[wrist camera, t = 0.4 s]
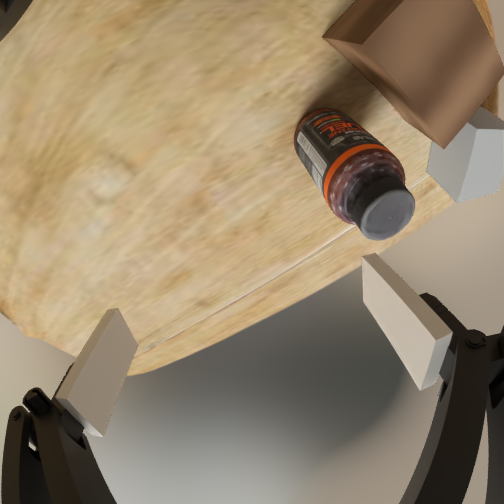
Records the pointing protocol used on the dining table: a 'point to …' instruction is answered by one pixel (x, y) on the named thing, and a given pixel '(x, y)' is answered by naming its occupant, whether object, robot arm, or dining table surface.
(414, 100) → the walnut block
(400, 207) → the supplement bottle
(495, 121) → the grey block
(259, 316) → the dining table surface
